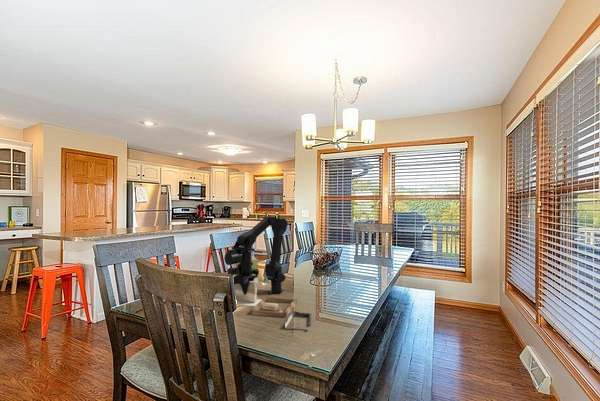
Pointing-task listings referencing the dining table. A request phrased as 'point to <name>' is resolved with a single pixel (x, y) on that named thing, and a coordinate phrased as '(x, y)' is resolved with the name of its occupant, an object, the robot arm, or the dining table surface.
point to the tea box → (253, 267)
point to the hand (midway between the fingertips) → (246, 293)
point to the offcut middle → (271, 310)
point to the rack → (270, 313)
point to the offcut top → (270, 306)
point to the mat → (248, 303)
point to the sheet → (250, 294)
